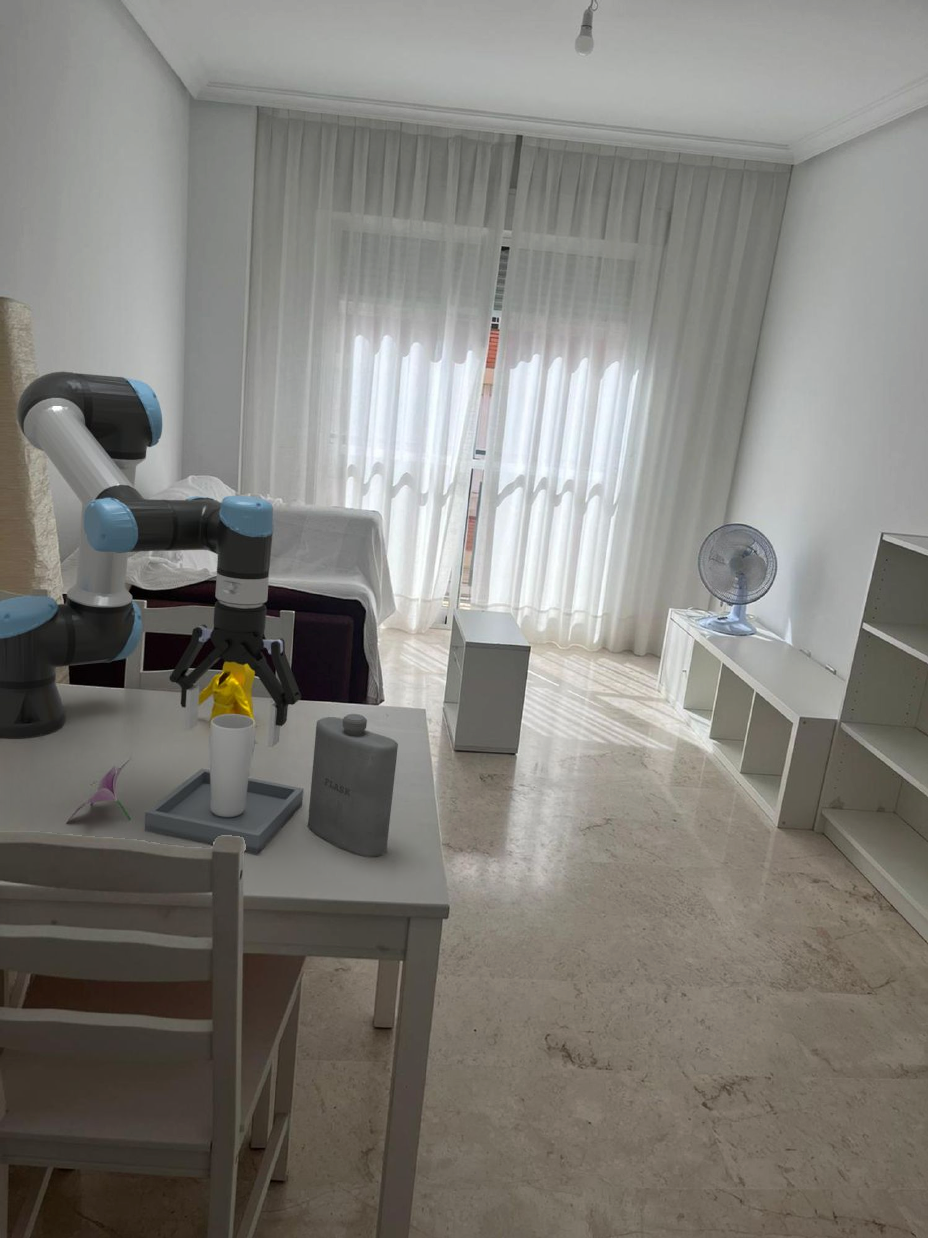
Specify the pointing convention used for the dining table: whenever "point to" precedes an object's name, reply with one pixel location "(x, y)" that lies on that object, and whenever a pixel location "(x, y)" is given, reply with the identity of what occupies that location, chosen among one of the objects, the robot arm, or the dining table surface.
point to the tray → (194, 820)
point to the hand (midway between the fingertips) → (231, 736)
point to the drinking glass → (230, 762)
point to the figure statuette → (231, 691)
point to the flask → (352, 785)
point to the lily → (106, 790)
